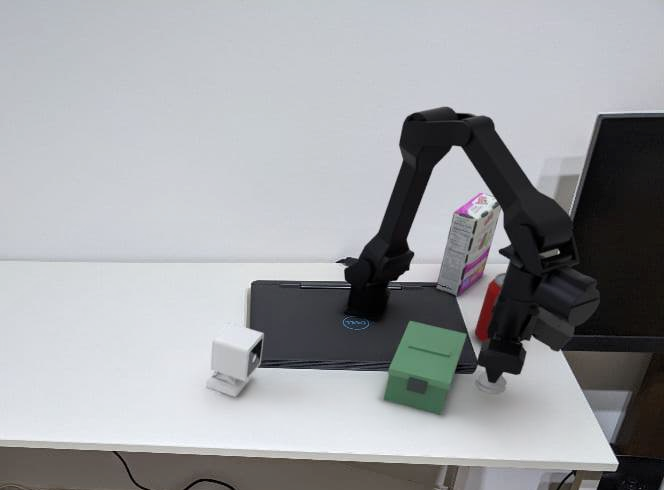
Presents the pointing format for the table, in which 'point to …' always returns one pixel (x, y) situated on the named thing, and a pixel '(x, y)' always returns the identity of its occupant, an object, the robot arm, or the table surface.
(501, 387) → the chess piece
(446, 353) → the box
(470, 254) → the candy bar box
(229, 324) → the security camera
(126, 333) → the table surface
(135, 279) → the table surface
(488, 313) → the beverage can
